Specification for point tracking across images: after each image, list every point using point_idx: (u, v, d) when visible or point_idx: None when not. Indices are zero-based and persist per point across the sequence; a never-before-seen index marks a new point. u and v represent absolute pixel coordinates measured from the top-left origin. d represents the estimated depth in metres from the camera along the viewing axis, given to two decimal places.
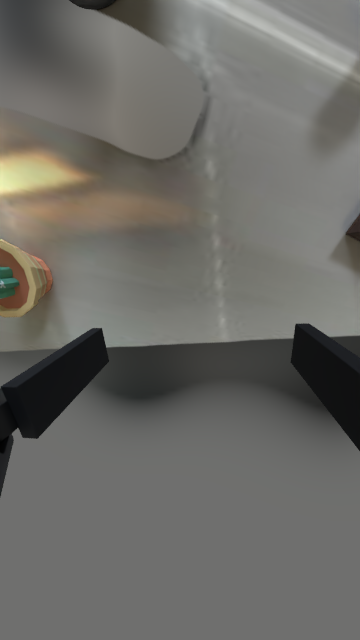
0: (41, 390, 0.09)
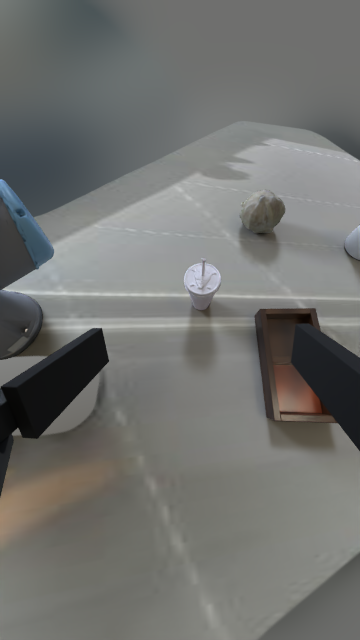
0: (41, 389, 0.09)
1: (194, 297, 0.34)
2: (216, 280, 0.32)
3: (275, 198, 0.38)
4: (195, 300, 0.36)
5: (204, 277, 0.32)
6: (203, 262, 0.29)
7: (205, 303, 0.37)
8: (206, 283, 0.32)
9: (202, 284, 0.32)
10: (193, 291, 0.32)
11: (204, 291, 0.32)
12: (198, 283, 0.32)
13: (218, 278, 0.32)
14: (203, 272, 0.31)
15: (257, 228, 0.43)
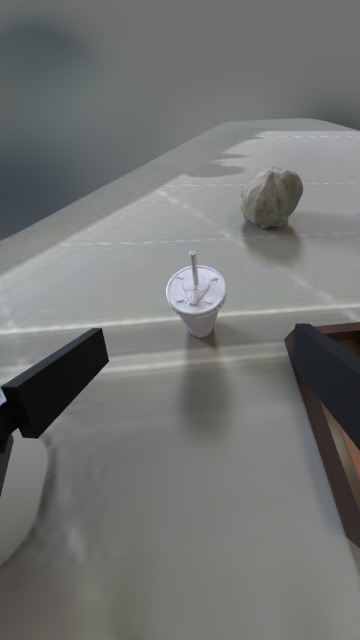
0: (41, 390, 0.09)
1: (186, 320, 0.21)
2: (219, 289, 0.19)
3: (288, 172, 0.27)
4: (189, 324, 0.23)
5: (198, 286, 0.20)
6: (192, 258, 0.17)
7: (206, 327, 0.24)
8: (202, 296, 0.19)
9: (196, 297, 0.19)
10: (182, 310, 0.19)
11: (200, 308, 0.19)
12: (189, 296, 0.19)
13: (221, 285, 0.20)
14: (195, 277, 0.19)
15: (266, 219, 0.32)
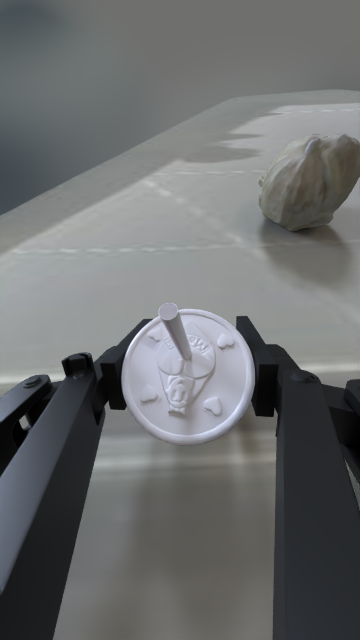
0: None
1: None
2: (238, 372, 0.08)
3: (347, 137, 0.16)
4: None
5: (191, 364, 0.09)
6: (169, 325, 0.06)
7: None
8: (199, 391, 0.08)
9: (185, 395, 0.08)
10: (152, 428, 0.08)
11: (195, 427, 0.08)
12: (170, 391, 0.08)
13: (244, 364, 0.09)
14: (184, 351, 0.08)
15: (300, 216, 0.21)
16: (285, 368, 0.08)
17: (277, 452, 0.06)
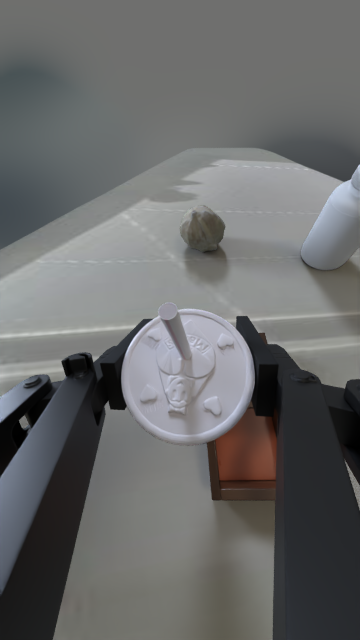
0: None
1: None
2: (237, 372, 0.09)
3: (207, 212, 0.34)
4: None
5: (191, 363, 0.09)
6: (169, 325, 0.06)
7: None
8: (199, 390, 0.08)
9: (185, 395, 0.08)
10: (152, 428, 0.08)
11: (195, 427, 0.08)
12: (170, 391, 0.08)
13: (244, 363, 0.09)
14: (183, 351, 0.08)
15: (199, 246, 0.39)
16: (285, 368, 0.08)
17: (277, 452, 0.06)
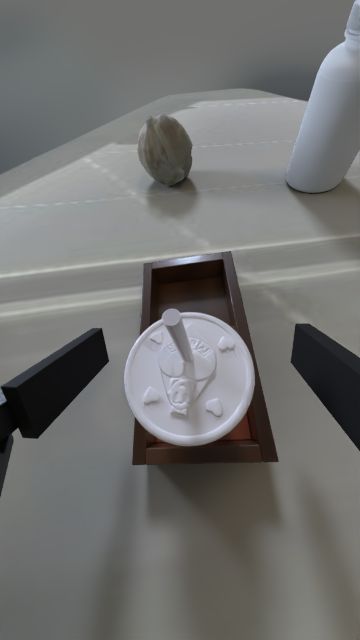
0: (41, 389, 0.09)
1: None
2: (238, 375, 0.09)
3: (165, 116, 0.27)
4: None
5: (193, 366, 0.09)
6: (172, 330, 0.06)
7: None
8: (200, 392, 0.09)
9: (187, 397, 0.08)
10: (154, 429, 0.08)
11: (197, 428, 0.08)
12: (172, 393, 0.09)
13: (244, 366, 0.09)
14: (185, 354, 0.08)
15: (161, 172, 0.32)
16: None
17: None
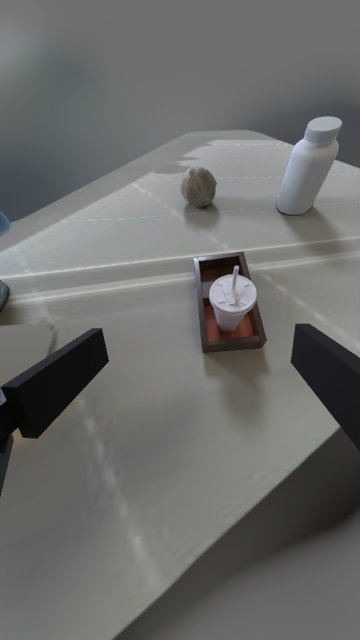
0: (41, 389, 0.09)
1: (224, 317, 0.28)
2: (251, 293, 0.26)
3: (201, 169, 0.44)
4: (224, 320, 0.29)
5: (235, 291, 0.26)
6: (236, 271, 0.23)
7: (236, 323, 0.30)
8: (238, 298, 0.25)
9: (234, 299, 0.25)
10: (224, 309, 0.25)
11: (238, 308, 0.25)
12: (229, 298, 0.26)
13: (253, 290, 0.26)
14: (234, 284, 0.25)
15: (195, 200, 0.49)
16: None
17: None
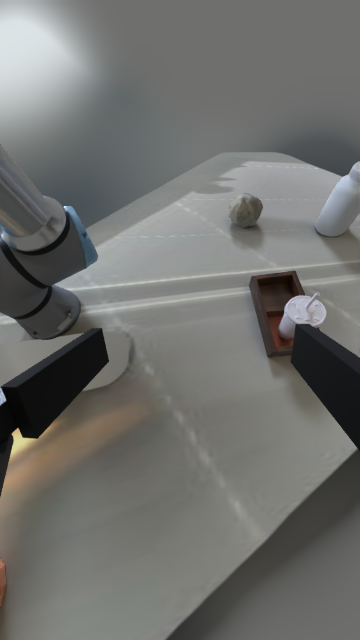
0: (41, 389, 0.09)
1: None
2: (321, 311, 0.33)
3: (253, 197, 0.51)
4: (293, 331, 0.36)
5: (308, 309, 0.33)
6: (316, 296, 0.30)
7: None
8: (312, 315, 0.32)
9: (309, 316, 0.32)
10: None
11: (313, 323, 0.32)
12: (304, 315, 0.32)
13: (323, 309, 0.33)
14: (309, 305, 0.32)
15: (243, 222, 0.55)
16: None
17: None
